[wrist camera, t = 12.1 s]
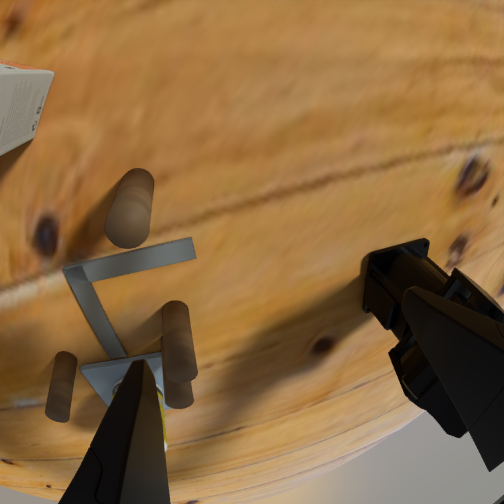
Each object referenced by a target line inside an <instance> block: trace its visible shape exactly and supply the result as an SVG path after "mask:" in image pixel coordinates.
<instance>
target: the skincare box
mask: <svg viewBox="0 0 504 504" xmlns="http://www.w3.org/2000/svg"><path fill="white" fill-rule="evenodd" d="M54 75H55V73H54V72H53V71H49V70H44V69H39V68H35V67H30V66H25V65H20V64H15V63H10V62H6V61H2V60H0V156H1V155H3V154H5V153H7V152H9V151H10V150H12V149H14V148H16V147H18V146H20V145H22V144H24V143H26V142H27V141H29V140H31V139H33V138H34V137H35V133H36V130H37V126H38V123H39V119H40V116H41V112H42V109H43V106H44V103H45V100H46V97H47V94H48V91H49V88H50V86H51V83H52V80H53V78H54Z"/></svg>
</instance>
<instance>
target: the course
mask: <svg viewBox="0 0 504 504" xmlns="http://www.w3.org/2000/svg"><path fill="white" fill-rule="evenodd" d="M153 191H154V179H153V177H152V175H151V174H150V173H149V172H148V171H146V170H144V169H141V168H135V169H132V170H130V171H128V172H127V173H126V174H125V175H124V177H123V179H122V181H121V184H120V186H119V188H118V191H117V193H116V196H115V198H114V201H113V203H112V206H111V208H110V211H109V213H108V216H107V218H106V221H105V233H106V235H107V237H108V239H109V240H110V241H111V242H112V243H113V244H114V245H116V246H118V247H120V248H124V249H131V248H135V247H138V246H140V245H141V244H142V243H143V242H144V241H145V240H146V239H147V237H148V234H149V229H150V218H151V208H152V199H153ZM192 259H196V254H195V250H194V245H193V241H192V237H189V238H184V239H180V240H175V241H171V242H166V243H162V244H157V245H153V246H149V247H144V248H140V249H136V250H131V251H127V252H123V253H119V254H114V255H110V256H106V257H102V258H98V259H94V260H90V261H85V262H81V263H77V264H73V265H69V266H65V267H64V269H63V270H64V272H65V275H66V277H67V279H68V281H69V283H70V285H71V287H72V289H73V291H74V293H75V295H76V297H77V299H78V301H79V303H80V305H81V307H82V309H83V311H84V313H85V315H86V317H87V319H88V321H89V322H90V324H91V326H92V328H93V330H94V331H95V333H96V335H97V337H98V339H99V340H100V342H101V344H102V346H103V347H104V349H105V351H106V352H107V354H108V356H109V357H110V359H114V358H120V357H126V356H127V353H126V352H125V350H124V348H123V346H122V344H121V342H120V340H119V339H118V337H117V335H116V333H115V331H114V329H113V327H112V325H111V323H110V321H109V319H108V317H107V315H106V313H105V311H104V309H103V307H102V305H101V303H100V301H99V299H98V296H97V294H96V292H95V290H94V288H93V285H92V283H91V282H94V281H98V280H103V279H107V278H112V277H116V276H121V275H125V274H129V273H134V272H138V271H143V270H147V269H152V268H156V267H161V266H165V265H170V264H174V263H179V262H183V261H188V260H192ZM162 324H163V336H162V337H161V356H162V373H163V387H164V399H165V404H166V405H167V406H168V407H171V408H174V409H183V408H187V407H189V406H191V405H192V404H193V402H194V399H193V392H192V386H191V381H192V380H193V379H195V378H196V376H197V374H198V370H197V364H196V358H195V351H194V345H193V338H192V331H191V324H190V317H189V310H188V307H187V305H186V304H185V303H183V302H181V301H170V302H168V303H166V304H165V305H164V306H163V308H162ZM76 367H77V359H76V357H75V356H74V355H73V354H71V353H69V352H64V351H63V352H59V353H58V354H57V355H56V359H55V364H54V368H53V373H52V377H51V382H50V387H49V392H48V398H47V403H46V409H45V414H46V416H47V417H48V418H50V419H51V420H53V421H56V422H62V423H64V422H68V421H69V416H70V408H71V400H72V393H73V386H74V379H75V373H76Z"/></svg>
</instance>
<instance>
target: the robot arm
mask: <svg viewBox="0 0 504 504" xmlns="http://www.w3.org/2000/svg"><path fill="white" fill-rule="evenodd" d="M429 244H430V242H429V240H427V239H426V238H422V239H419V240H415V241H411V242H408V243H404V244H400V245H397V246H393V247H389V248H385V249H381V250H378V251H374V252H372V253H371V254H370V256H369V261H368V270H367V278H366V282H365V289H364V297H363V307H362V309H363V311H364V312H365V313H370V312H372V313H373V314H374V315H375V317H376V318H377V319H378V321H379V322H380V323H381V325H382V326H383V327H384V329H386V330H391V331H392V332H393V333H394V335H395V336H396V337H397V339H398V340H399V342H398V344H397V345H396V346H395V347H394V348H392V349H391V350H390V351H389V352H388V354H389V357H390V359H391V362H392V365H393V367H394V369H395V372H396V374H397V377H398V379H399V382H400V384H401V387H402V389H403V392H404V394H405V396H406V397H408V399H409V400H410V401H411V402H413V403H414V404H415V405H417V406H418V407H420V408H421V409H424V410H426V411H427V412H428V413H429V414H431V415H432V416H433V417H434V419H435V420H436V421H437V422H438V423H439V424H440V426H441V427H442V428H443V430H444V431H445V432H446V433H447V434H449V435H452V436H454V437H457V438H461V437H462V436H463V435H464V434H465V433H467V432H468V431H469V433H470V435H471V437H472V439H473V441H474V443H475V445H476V446H477V449H478V451H479V453H480V455H481V457H482V459H483V461H484V463H485V465H486V467H487V469H488V470H489V472H491V471H492V470H493V469H494V468H496V467H497V466H498V465H500V464H501V463H502V462H504V310H503V309H502V308H501V307H500V305H499V304H498V303H497V302H496V301H495V300H494V299H493V298H492V297H491V296H490V295H489V294H488V293H487V292H486V291H485V290H483V289H482V288H481V287H480V286H479V285H478V284H477V283H476V282H474V281H473V280H472V279H470V278H469V277H468V276H466V275H465V274H464V273H462V272H461V271H460V270H458V269H457V268H454V269H453V271H452V272H451V273H452V274H451V276H449V275H448V274H447V273H445V272H444V271H443V270H442V269H441V268H440V267H439V266H438V265H436V264H435V263H434V262H433V261H432V260H431V259H430V258H428V257H427V254H428V249H429ZM375 257H376V258H375ZM374 258H375V259H374ZM58 504H171V503H170V495H169V487H168V478H167V468H166V458H165V446H164V433H163V421H162V416H161V410H160V404H159V399H158V393H157V387H156V381H155V377H154V374H153V372H152V370H151V368H150V366H149V365H148V363H147V361H146V360H145V359H139V360H134V361H132V363H131V364H130V366H129V368H128V370H127V372H126V374H125V376H124V378H123V380H122V382H121V384H120V386H119V388H118V390H117V392H116V393H115V395H114V397H113V399H112V401H111V403H110V405H109V407H108V409H107V411H106V413H105V415H104V418H103V420H102V422H101V424H100V426H99V428H98V430H97V432H96V434H95V436H94V438H93V440H92V442H91V444H90V447H89V448H88V451H87V453H86V455H85V457H84V459H83V461H82V463H81V465H80V467H79V469H78V471H77V472H76V474H75V476H74V478H73V479H72V481H71V483H70V485H69V486H68V488H67V490H66V491H65V493H64V495H63V496H62V498H61V500H60V501H59V503H58ZM493 504H504V495H503V496H502V497H501V498H499V499H498V500H497V501H496V502H495V503H493Z"/></svg>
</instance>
